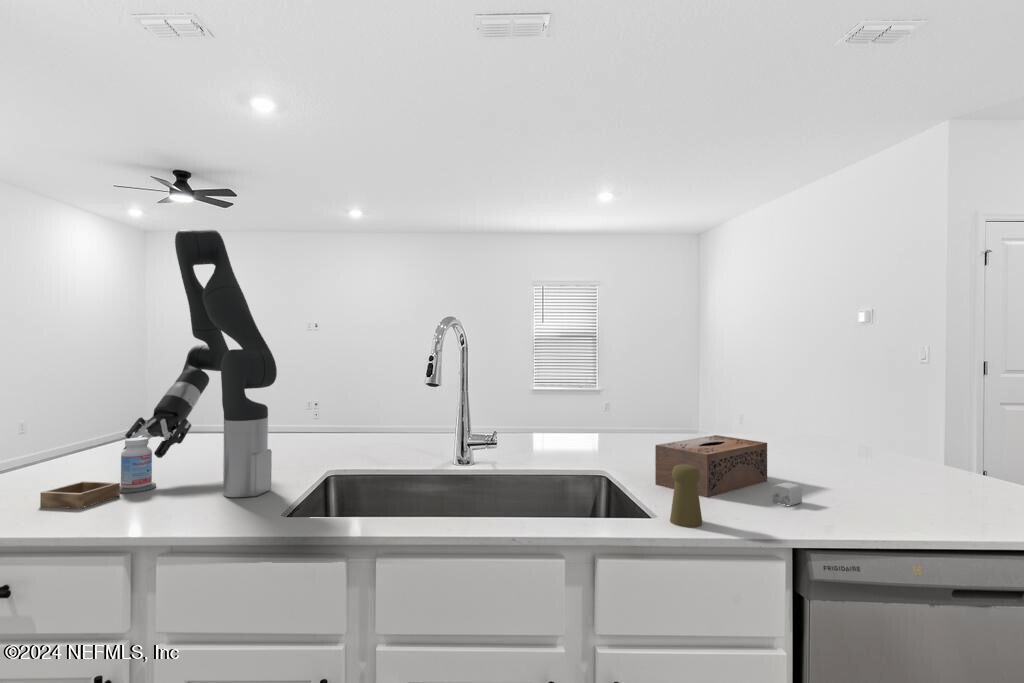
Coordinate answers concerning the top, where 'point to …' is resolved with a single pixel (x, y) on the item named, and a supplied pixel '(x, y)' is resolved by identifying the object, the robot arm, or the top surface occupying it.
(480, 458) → the top surface
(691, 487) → the cork
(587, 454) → the top surface
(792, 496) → the usb wall charger
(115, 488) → the wooden tray
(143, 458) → the pill bottle
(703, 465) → the tissue box cover
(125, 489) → the slate coaster
